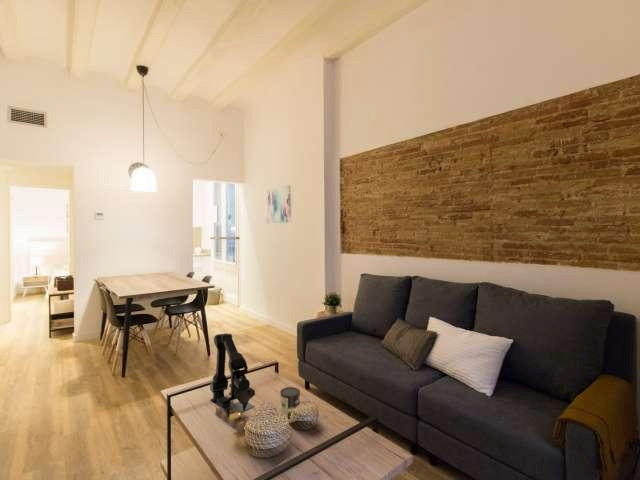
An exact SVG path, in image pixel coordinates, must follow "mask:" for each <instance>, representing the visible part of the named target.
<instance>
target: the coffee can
mask: <svg viewBox="0 0 640 480" xmlns="http://www.w3.org/2000/svg"><path fill="white" fill-rule="evenodd" d="M279 393H280V394H279V395H280V397H279V398H280V403H279V412H280V411H282V412H283V413H284V414H285V415H286V416H287V418H288V419H290V416H291V413H292V411H293V410H294V409H295V408H296V407H297V406H298V405H299V404H300V401H301V400H300V399H301V398H300V397H301V396H300V395H301V390H300V389H299V388H297V387H295V386H289V387H284V388H282V389H280V392H279Z"/></svg>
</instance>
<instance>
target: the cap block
mask: <svg viewBox="0 0 640 480" xmlns="http://www.w3.org/2000/svg"><path fill="white" fill-rule="evenodd" d="M224 396H225V397H226V398H229V397H230V395H224ZM234 401H235V400H233V401H231V404H230V406H231V407H230V409H229V411H230V410H232V409H234V404H235V403H234ZM219 409H221V410H222V411H224V409H223V408H221V407H220V406H219ZM224 412H225V411H224Z"/></svg>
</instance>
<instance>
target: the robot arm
mask: <svg viewBox="0 0 640 480" xmlns="http://www.w3.org/2000/svg"><path fill="white" fill-rule="evenodd" d="M213 343H214V346H215V347H216V349H217V350H216V367H215V374H214V375H213V377H212V381H211V383H210V385H209V390H210V392H211V393H212V398H210V401H211V402H212V403H214V404H216V405H217V406H220V407H221V408H223V409H224V411H225V413H226V415H227V417H228V418H229V409H230V407H231V406H230V404H231V401H233V400H234V401H235V400H237V401H238V402H240V404H242V406H243V410H244V412H246V411H245V409H246V406H247V404H248V403H249V401H250V400H251V399H252V398H254V396H256V390H255V389H253V388H252V387H250V386H251V382H250V380H249V379H248V378H247V375H245V374H248V370H249V367H248V364H247V360H246V359H245V357H244V356H243V354H242V353H240V352H239V351H238V349H237V347H236V344H235V341H234V340H233V335H232V333H219V334H216V335H215V336H214V337H213ZM226 353H227V355H228V359H229V360H228V363H227V364H228V369H229V372H230V384H229V379H228V377H227V376H226V356H227V355H226ZM228 387H230V392H229V393H228V396H229V398H226V397H225V396H226V395H225V391H227V390H228Z"/></svg>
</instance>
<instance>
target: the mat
mask: <svg viewBox="0 0 640 480" xmlns="http://www.w3.org/2000/svg"><path fill="white" fill-rule="evenodd" d="M254 407H255V405H253V404H252V403H250V402H248V404H247V406H246V409H245V411H244V410H243V406H242V404H240V402H239V401H238V402H235V403H234V409H236V410H238V411H239V412H241V413H242V414H243V413H244V412H246V411H248V410H251V409H252V408H254Z"/></svg>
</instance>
